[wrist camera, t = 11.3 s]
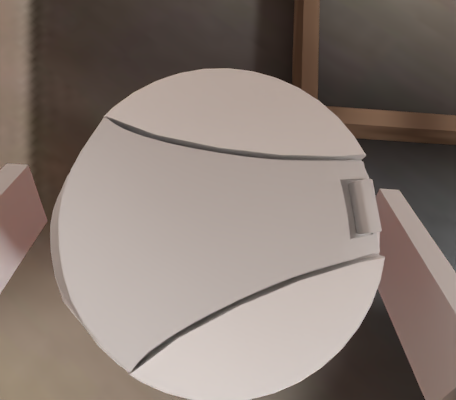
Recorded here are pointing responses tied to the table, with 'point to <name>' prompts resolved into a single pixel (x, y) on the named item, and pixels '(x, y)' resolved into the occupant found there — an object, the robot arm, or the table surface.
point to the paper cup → (218, 235)
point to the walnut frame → (354, 117)
